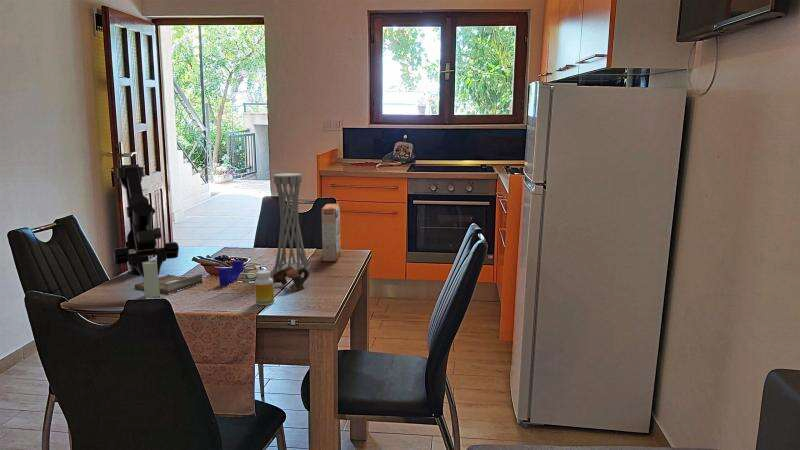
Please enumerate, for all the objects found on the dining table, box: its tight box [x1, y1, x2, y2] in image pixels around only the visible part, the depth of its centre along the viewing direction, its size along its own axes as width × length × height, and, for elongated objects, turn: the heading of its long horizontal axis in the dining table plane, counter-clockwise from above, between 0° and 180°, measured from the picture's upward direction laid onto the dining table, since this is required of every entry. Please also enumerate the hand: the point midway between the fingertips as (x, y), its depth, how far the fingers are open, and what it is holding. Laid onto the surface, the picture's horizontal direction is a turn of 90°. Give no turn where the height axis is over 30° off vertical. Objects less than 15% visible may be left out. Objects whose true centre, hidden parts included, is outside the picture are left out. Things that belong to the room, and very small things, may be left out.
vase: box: [272, 172, 311, 274], centre depth 215 cm, size 14×13×35 cm
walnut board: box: [134, 273, 203, 294], centre depth 198 cm, size 16×14×3 cm
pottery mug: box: [271, 266, 310, 293], centre depth 194 cm, size 12×10×8 cm
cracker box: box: [321, 203, 342, 263], centre depth 234 cm, size 14×6×21 cm, turn 179°
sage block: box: [142, 259, 161, 299], centre depth 185 cm, size 4×4×11 cm
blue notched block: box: [218, 259, 244, 286], centre depth 203 cm, size 12×4×6 cm, turn 170°
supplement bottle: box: [254, 269, 275, 306], centre depth 177 cm, size 5×5×10 cm
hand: (150, 275), depth 184 cm, fingers closed on sage block, 4 cm apart
